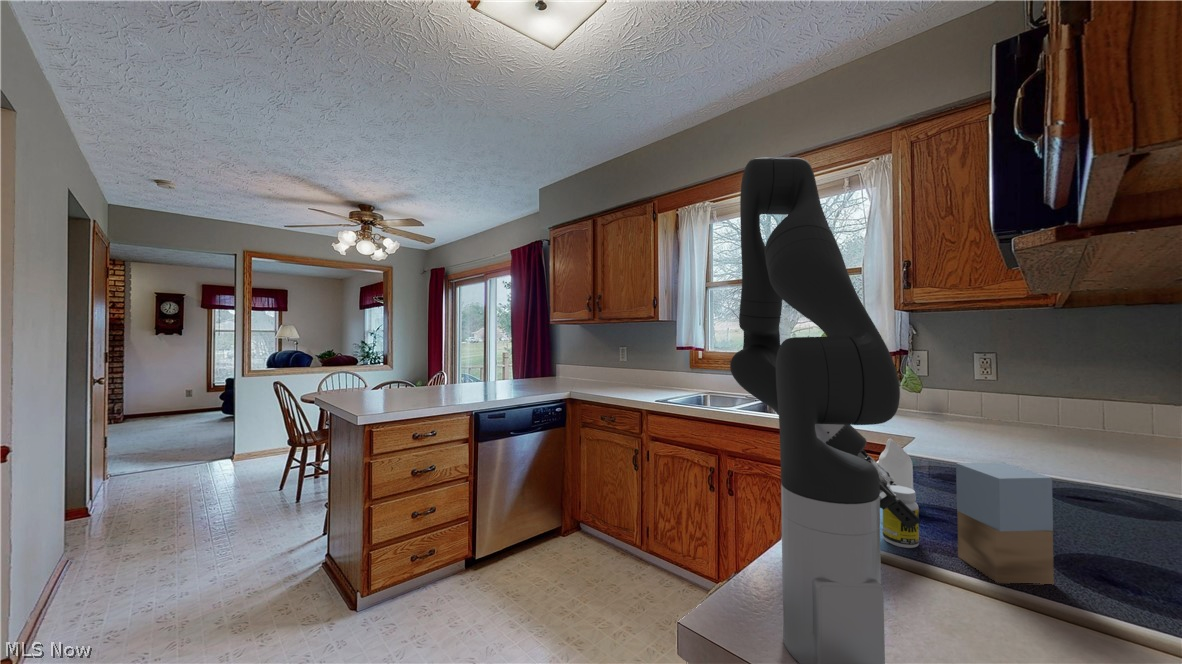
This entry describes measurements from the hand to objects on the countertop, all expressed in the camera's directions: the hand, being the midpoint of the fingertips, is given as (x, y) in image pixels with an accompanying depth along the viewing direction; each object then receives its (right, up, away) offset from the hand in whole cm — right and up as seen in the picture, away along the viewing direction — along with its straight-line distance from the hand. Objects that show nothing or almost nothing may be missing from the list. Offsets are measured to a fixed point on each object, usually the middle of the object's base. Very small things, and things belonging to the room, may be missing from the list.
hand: (911, 514), depth 71 cm
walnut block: (+7, -4, -8) cm, 12 cm away
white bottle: (+10, -5, +19) cm, 22 cm away
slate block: (+7, +3, -8) cm, 11 cm away
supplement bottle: (-1, -5, +1) cm, 5 cm away
